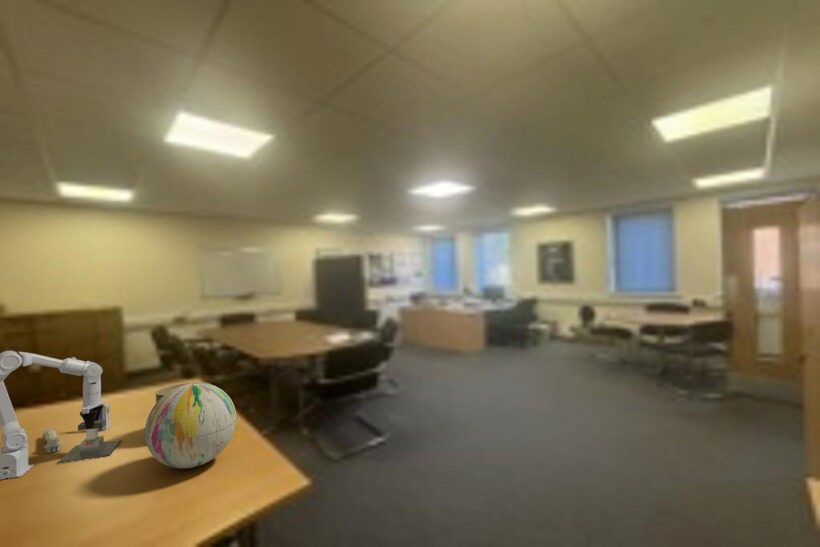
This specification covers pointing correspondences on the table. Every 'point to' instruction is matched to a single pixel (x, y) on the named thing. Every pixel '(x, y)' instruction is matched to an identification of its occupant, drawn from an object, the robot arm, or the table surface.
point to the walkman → (105, 417)
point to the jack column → (92, 430)
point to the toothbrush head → (51, 441)
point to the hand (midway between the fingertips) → (92, 426)
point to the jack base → (91, 450)
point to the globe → (190, 425)
